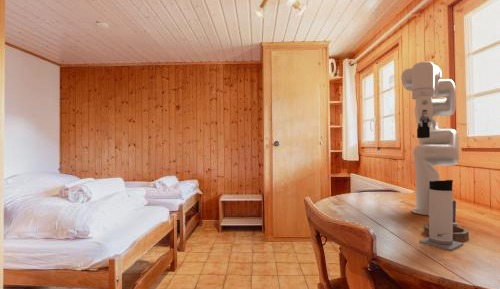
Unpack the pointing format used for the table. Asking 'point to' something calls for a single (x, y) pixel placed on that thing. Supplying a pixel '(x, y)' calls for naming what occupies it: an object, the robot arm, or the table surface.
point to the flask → (454, 210)
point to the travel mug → (441, 212)
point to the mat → (446, 247)
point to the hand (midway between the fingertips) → (423, 137)
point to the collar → (458, 232)
